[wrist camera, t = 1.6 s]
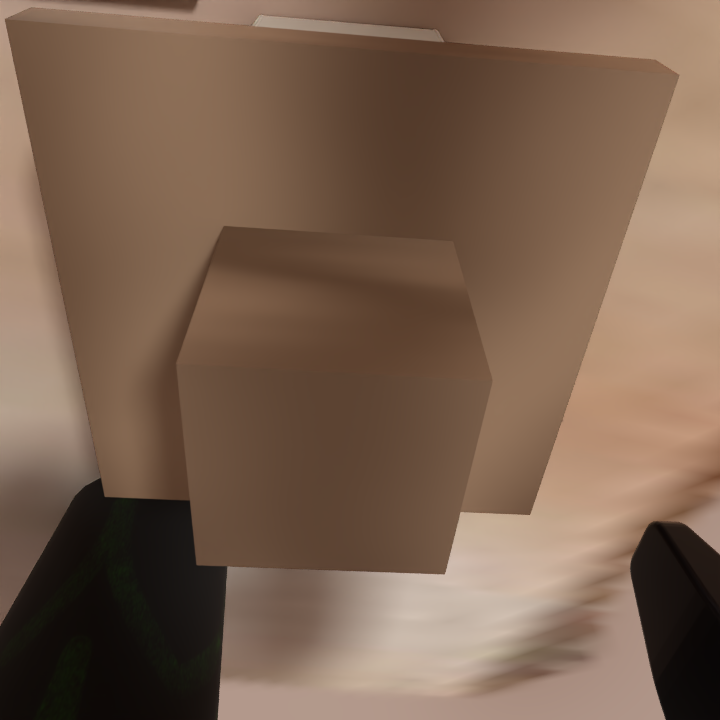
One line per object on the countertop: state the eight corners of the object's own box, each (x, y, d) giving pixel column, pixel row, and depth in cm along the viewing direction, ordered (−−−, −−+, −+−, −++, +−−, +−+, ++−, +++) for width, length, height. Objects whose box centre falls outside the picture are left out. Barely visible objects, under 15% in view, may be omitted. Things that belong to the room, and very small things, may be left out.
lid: (116, 465, 16) (41, 661, 12) (31, 7, 10) (-168, 94, 6) (521, 483, 17) (575, 676, 13) (655, 60, 11) (832, 170, 7)
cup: (-9, 518, 23) (-263, 979, 14) (135, 411, 21) (-53, 894, 11) (160, 617, 27) (55, 1037, 17) (303, 537, 24) (273, 984, 14)
